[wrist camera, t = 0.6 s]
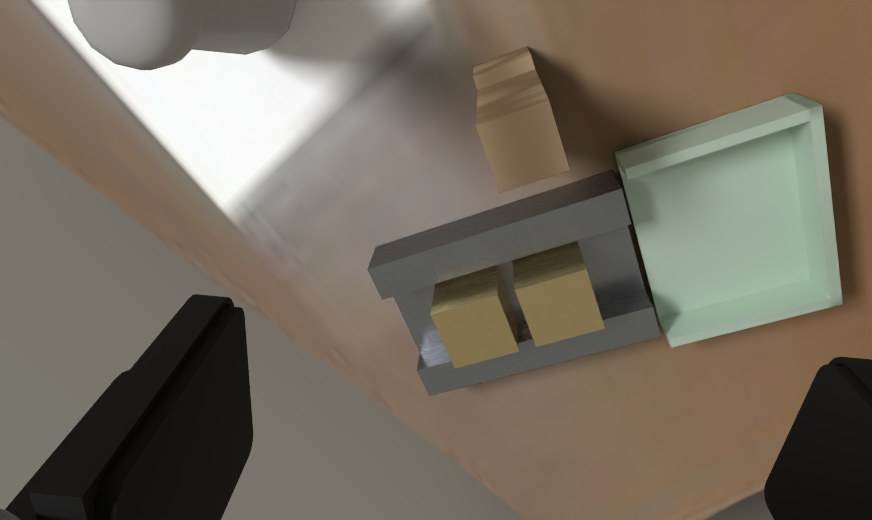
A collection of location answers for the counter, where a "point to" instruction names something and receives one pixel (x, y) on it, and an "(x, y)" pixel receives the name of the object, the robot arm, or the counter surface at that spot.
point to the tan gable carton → (516, 122)
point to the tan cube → (475, 317)
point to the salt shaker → (178, 27)
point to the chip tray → (735, 219)
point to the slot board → (498, 245)
